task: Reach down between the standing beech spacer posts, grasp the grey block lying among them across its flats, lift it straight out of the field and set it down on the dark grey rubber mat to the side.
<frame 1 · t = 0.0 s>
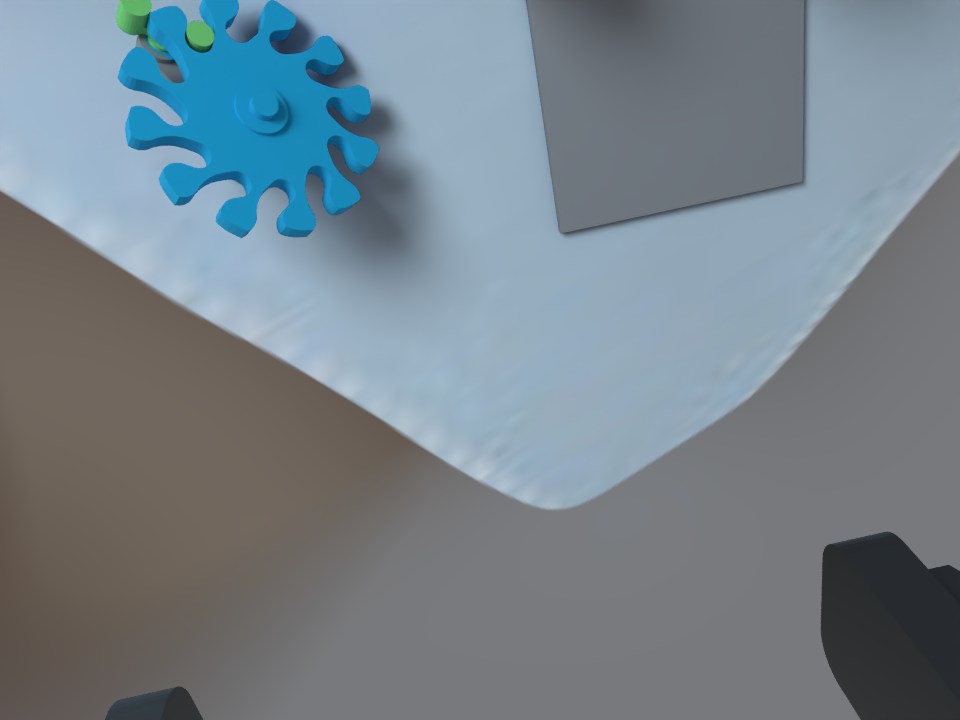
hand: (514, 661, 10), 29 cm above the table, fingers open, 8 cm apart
mat: (670, 77, 35), on the table
gear: (259, 91, 34), on the table
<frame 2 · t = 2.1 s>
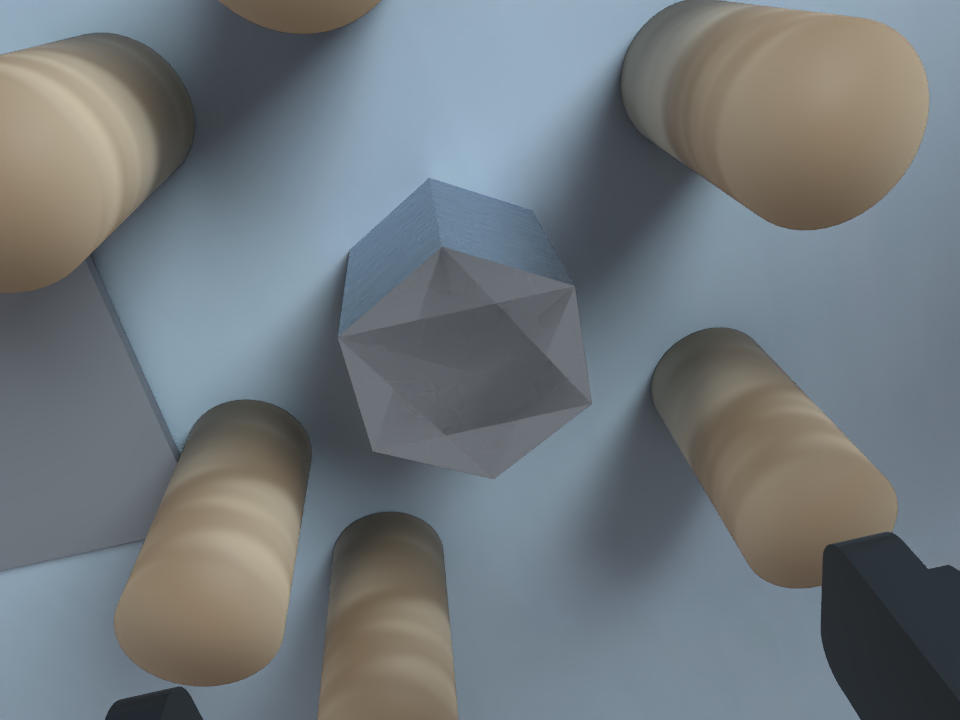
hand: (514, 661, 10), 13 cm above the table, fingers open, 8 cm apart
grey block: (451, 279, 22), on the table
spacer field: (452, 280, 22), on the table
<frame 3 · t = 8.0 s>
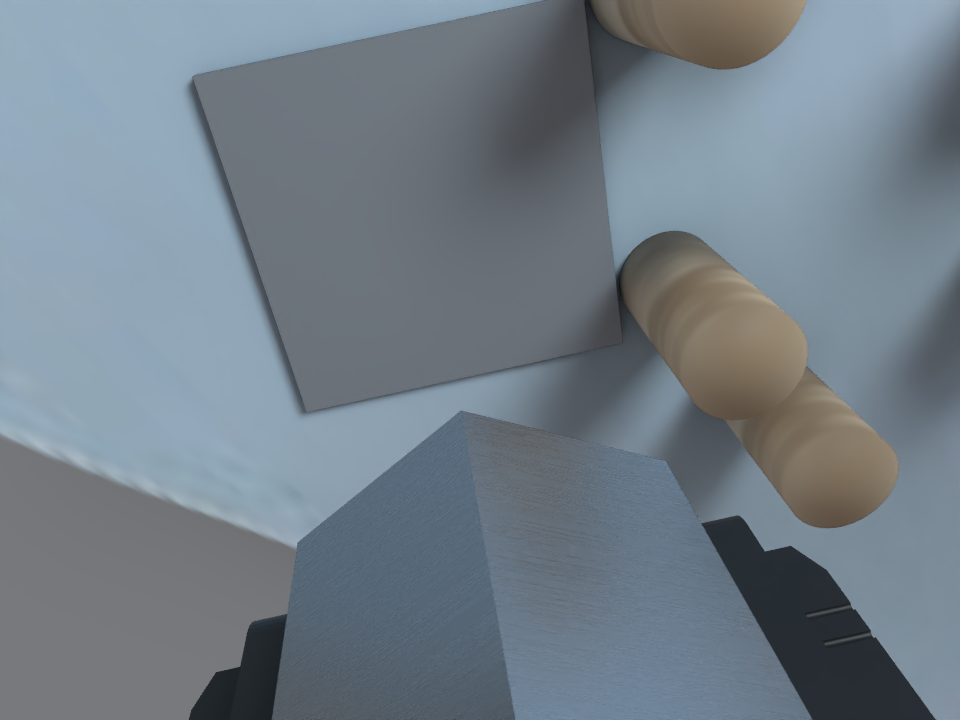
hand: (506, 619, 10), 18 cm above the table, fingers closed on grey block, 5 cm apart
grey block: (500, 581, 11), point 18 cm above the table, touching gripper
mat: (430, 220, 27), on the table
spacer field: (858, 128, 27), on the table
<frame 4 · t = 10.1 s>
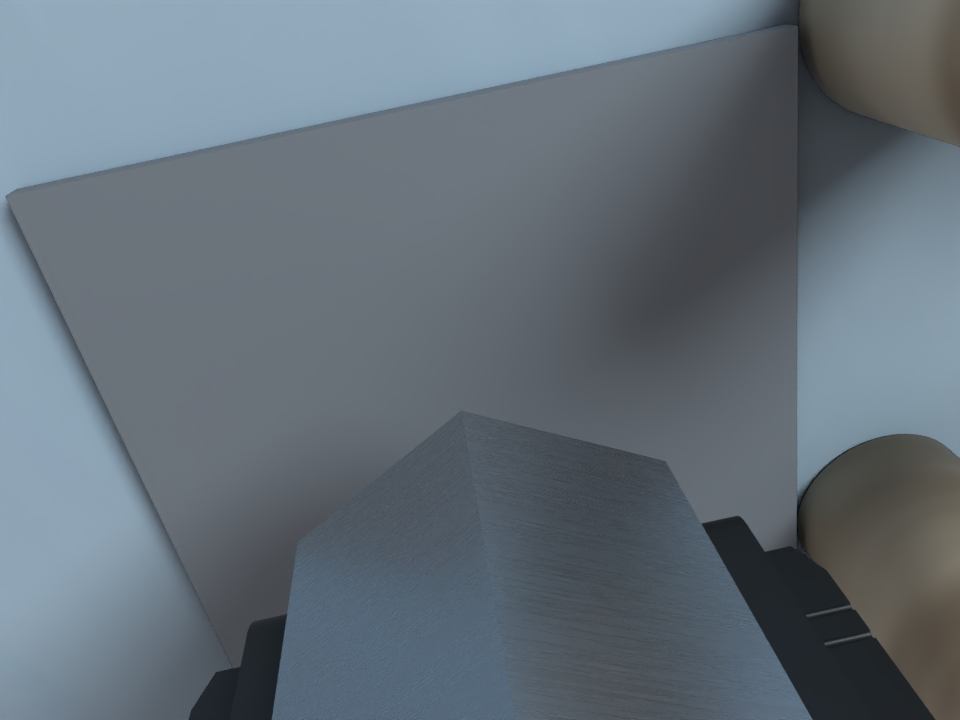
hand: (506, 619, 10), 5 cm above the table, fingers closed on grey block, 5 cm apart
grey block: (500, 581, 11), point 4 cm above the table, touching gripper
mat: (476, 431, 15), on the table
when the fingers open (2 cm above the table, at t = 11.7 s): grey block moves 1 cm, resting on mat.
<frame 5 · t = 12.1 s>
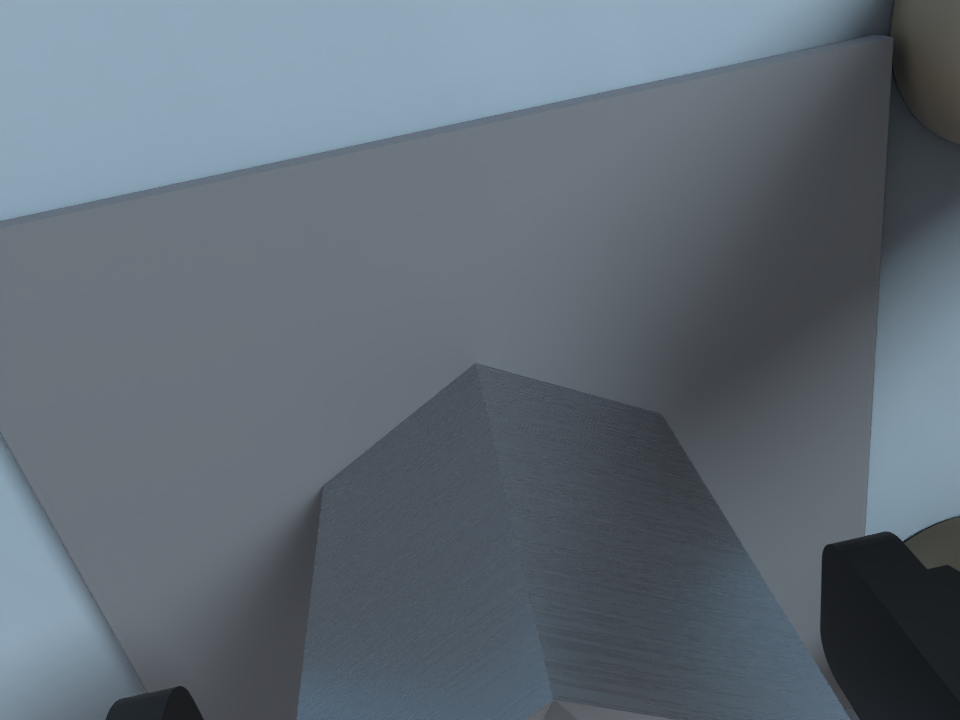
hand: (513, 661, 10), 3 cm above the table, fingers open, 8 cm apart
grey block: (508, 526, 12), resting on mat
mat: (486, 516, 12), on the table
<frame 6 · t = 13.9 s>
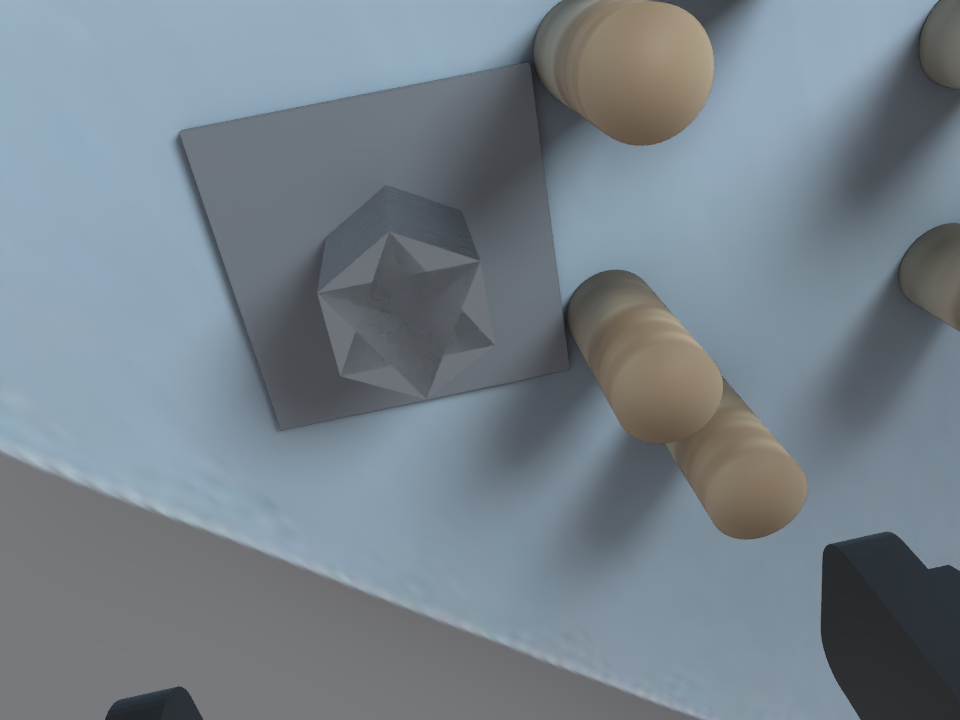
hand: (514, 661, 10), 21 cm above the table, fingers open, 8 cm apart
grey block: (402, 260, 29), resting on mat
mat: (394, 259, 30), on the table
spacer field: (779, 181, 30), on the table
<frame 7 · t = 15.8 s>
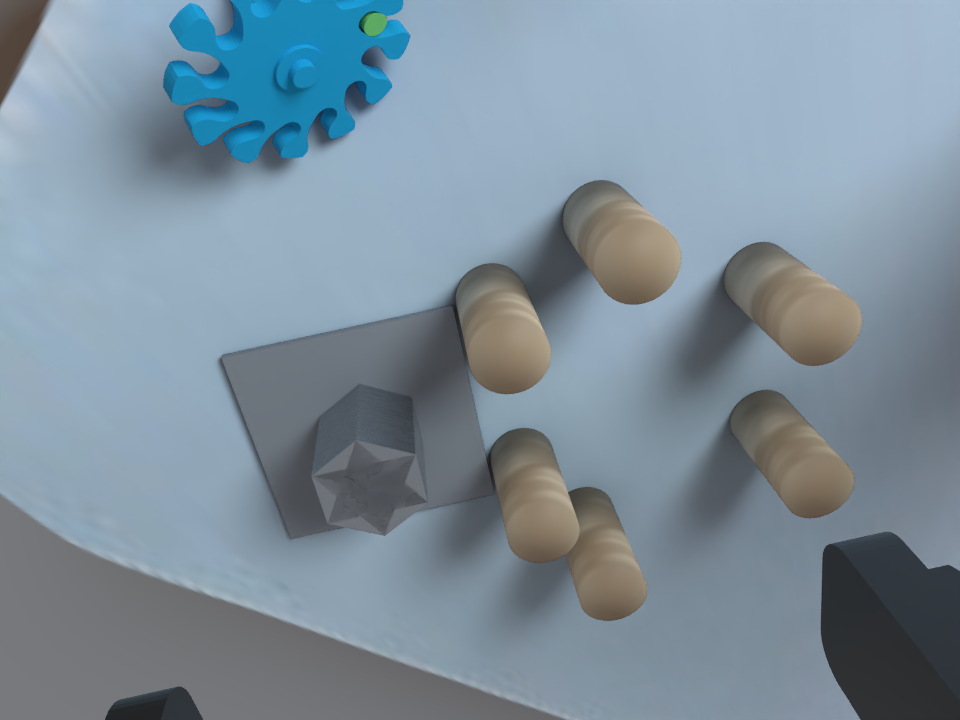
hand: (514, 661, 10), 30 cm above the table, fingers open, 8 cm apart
grey block: (372, 429, 43), resting on mat
mat: (367, 427, 43), on the table
gear: (311, 41, 34), on the table
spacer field: (634, 368, 43), on the table
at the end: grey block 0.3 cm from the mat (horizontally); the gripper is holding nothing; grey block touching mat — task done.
